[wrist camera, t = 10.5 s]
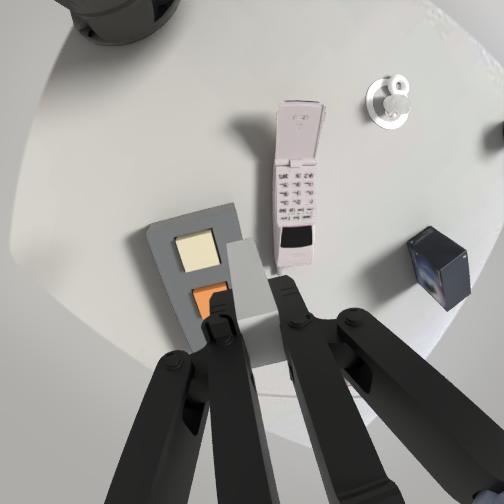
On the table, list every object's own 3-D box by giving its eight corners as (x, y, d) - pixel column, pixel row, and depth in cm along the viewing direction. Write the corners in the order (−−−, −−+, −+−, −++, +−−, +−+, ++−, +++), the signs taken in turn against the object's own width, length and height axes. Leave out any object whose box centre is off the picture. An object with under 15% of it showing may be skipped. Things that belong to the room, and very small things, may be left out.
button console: (150, 223, 41) (145, 234, 37) (233, 202, 41) (236, 210, 38) (198, 349, 51) (198, 365, 48) (264, 334, 52) (268, 349, 48)
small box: (404, 242, 48) (439, 270, 39) (430, 224, 47) (468, 247, 38) (416, 284, 52) (447, 314, 43) (440, 266, 52) (472, 293, 42)
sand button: (178, 228, 42) (175, 241, 37) (210, 220, 42) (210, 232, 38) (187, 257, 44) (185, 272, 39) (218, 250, 44) (219, 264, 40)
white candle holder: (393, 68, 36) (408, 65, 32) (417, 110, 39) (433, 112, 35) (354, 94, 37) (368, 93, 33) (382, 138, 40) (396, 141, 37)
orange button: (194, 277, 45) (193, 293, 41) (223, 270, 45) (225, 285, 41) (202, 302, 47) (202, 319, 43) (231, 295, 47) (233, 312, 43)
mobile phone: (326, 101, 32) (320, 288, 42) (311, 103, 37) (308, 268, 48) (276, 99, 31) (278, 292, 42) (267, 103, 36) (271, 272, 47)
